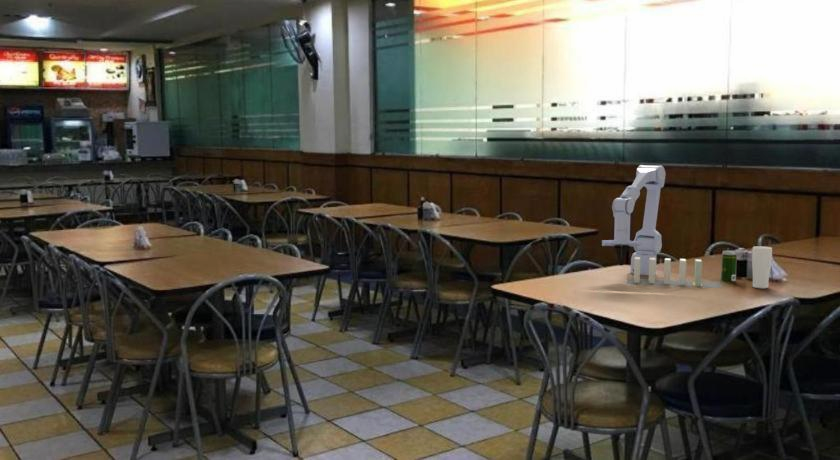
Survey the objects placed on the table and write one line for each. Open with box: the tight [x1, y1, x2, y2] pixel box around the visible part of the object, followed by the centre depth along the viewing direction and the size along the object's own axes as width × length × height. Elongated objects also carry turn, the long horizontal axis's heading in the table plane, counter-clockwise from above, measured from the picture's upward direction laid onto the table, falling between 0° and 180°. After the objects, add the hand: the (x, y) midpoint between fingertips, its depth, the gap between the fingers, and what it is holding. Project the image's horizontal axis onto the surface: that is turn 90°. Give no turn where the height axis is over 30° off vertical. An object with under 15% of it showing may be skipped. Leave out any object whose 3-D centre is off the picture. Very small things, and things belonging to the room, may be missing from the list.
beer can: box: [720, 249, 738, 283], centre depth 312 cm, size 5×5×12 cm
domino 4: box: [678, 258, 687, 285], centre depth 306 cm, size 2×5×9 cm, turn 167°
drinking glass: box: [751, 245, 773, 289], centre depth 302 cm, size 7×7×15 cm
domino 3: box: [663, 257, 672, 284], centre depth 307 cm, size 2×5×9 cm, turn 167°
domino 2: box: [648, 258, 657, 283], centre depth 308 cm, size 2×5×9 cm, turn 167°
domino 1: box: [633, 257, 641, 283], centre depth 309 cm, size 2×5×9 cm, turn 166°
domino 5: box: [693, 258, 703, 285], centre depth 304 cm, size 2×5×9 cm, turn 167°
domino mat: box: [626, 278, 723, 289], centre depth 307 cm, size 34×11×1 cm, turn 77°
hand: (621, 265), depth 311 cm, fingers closed
